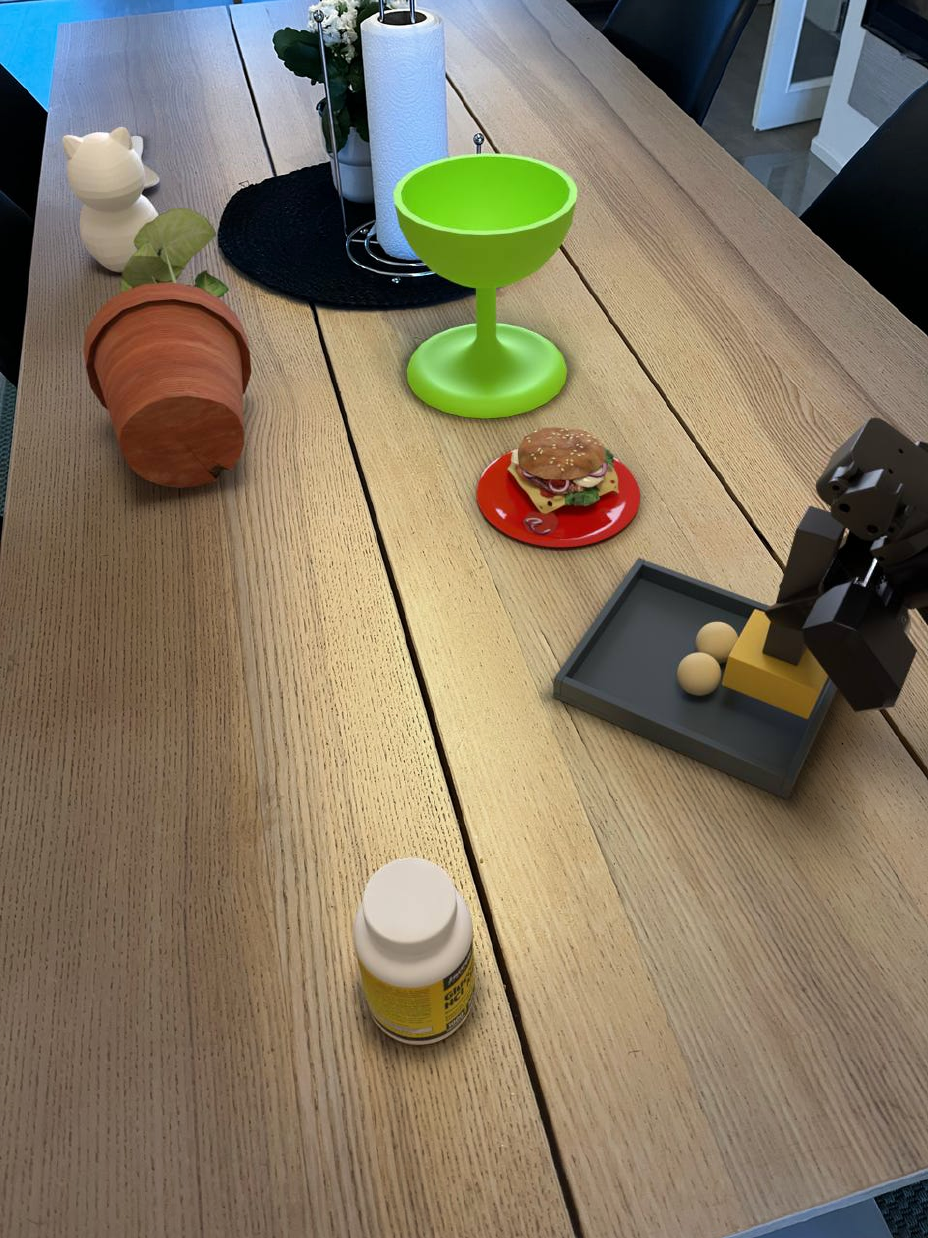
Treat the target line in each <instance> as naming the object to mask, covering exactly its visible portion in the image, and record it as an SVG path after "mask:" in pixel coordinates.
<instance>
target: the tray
mask: <svg viewBox="0 0 928 1238" xmlns="http://www.w3.org/2000/svg"><path fill="white" fill-rule="evenodd" d="M770 606H771V605H768V604H766V603H763V602H760V601H757V600H754V599H752V598H749V597H746V596H744V595H741V594H738V593H735V592H734V591H730V590H729V589H728V590H727V589H725V588H722V587H719V586H717V585H715V584H711V583H708V582H706V581H703V580H701V579H697V578H695V577H692V576H689V575H687V574H684V573H682V572H679V571H676V570H674V569H671V568H668V567H665V566H663V565H660V564H657V563H654V562H652V561H650V560H646V559H644V558H641V557H638V558H637V559H636V560H635V562H634V563H633V564H632V566H631V567H630V569H629V570H628V572H627V573H626V575H625V576H624V577H623V579H622V580H621V581H620V583H619V584H618V586H617V588H616V589H615V590H614V592H613V593H612V594H611V596H610V598H609V599H608V600H607V602H606V603H605V605H603V608H602V609H601V611H600V612H599V613H598V615H597V616H596V617H595V619H594V620H593V622H592V623H591V624H590V626H589V628H588V629H587V630H586V632H585V634H584V635H583V636H582V638H580V640H579V642H578V643H577V645H576V646H575V647H574V649H573V651H572V652H571V653H570V655H569V656H568V657H567V659H566V660H565V662H564V663H563V664H562V666H561V668H559V669H558V672H557V673H556V675H555V676H554V678H553V686H552V687H553V689H552V698H555V699H557V700H558V701H561V702H563V703H565V704H568V705H570V706H572V707H574V708H577V709H580V710H582V711H583V712H586V713H588V714H591V715H593V716H595V717H598V718H600V719H602V720H605V721H607V722H608V723H611V724H613V725H616V726H618V727H621V728H622V729H625V730H626V731H630V732H631V733H633V734H637V735H639V736H641V737H643V738H645V739H648V740H650V741H652V742H655V743H657V744H659V745H661V746H664V747H666V748H668V749H670V750H673V751H675V752H677V753H680V754H681V755H684V756H686V757H689V758H691V759H693V760H696V761H698V762H700V763H702V764H705V765H707V766H709V767H711V768H714V769H716V770H718V771H721V772H723V773H725V774H728V775H729V776H732V777H735V778H737V779H739V780H741V781H744V782H746V783H748V784H749V785H753V786H755V787H757V788H759V789H761V790H763V791H766V792H769V793H771V794H772V795H775V796H777V797H780V798H782V799H784V800H789V799H788V798H789V797H790V795H791V792H792V790H793V788H794V785H795V783H796V781H797V779H798V777H799V775H800V772H801V770H802V768H803V766H804V764H805V761H806V759H807V757H808V755H809V753H810V751H811V749H812V746H813V744H814V741H815V739H816V737H817V735H818V733H819V730H820V729H821V726H822V724H823V721H824V720H825V718H826V716H827V713H828V711H829V709H830V706H831V704H832V702H833V700H834V697H835V695H836V693H837V691H838V689H837V687H836V686H835V684H834V683H833V682H832V680H831V679H830V678H829V676H828V677H827V680H826V682H825V684H824V686H823V688H822V690H821V692H820V695H819V697H818V699H817V701H816V703H815V705H814V707H813V710H812V712H811V714H810V716H809V718H808V719H805V718H803V717H800V716H798V715H795V714H793V713H791V712H788V711H786V710H783V709H781V708H778V707H776V706H773V705H771V704H768V703H766V702H763V701H761V700H758V699H756V698H753V697H751V696H748V695H746V694H743V693H741V692H738V691H736V690H733V689H731V688H728V687H726V686H723V685H722V681H723V677H724V673H725V669H726V665H727V662H724V663H720V664H719V666H720V669H721V680H720V683H719V685H718V686H717V688H716V689H715V690H714V691H712V692H711V693H709V694H706V695H701V696H698V695H693V694H690V693H688V692H687V691H685V690H684V689H683V688H682V687H681V685H680V683H679V681H678V678H677V670H678V667H679V664H680V663H681V661H682V660H683V659H684V658H685V657H686V656H688V655H690V654H693V653H698V651H697V648H696V638H697V635H698V633H699V631H700V630H701V628H702V627H704V626H705V625H707V624H709V623H712V622H723V623H726V624H728V625H729V626H731V627H732V628H733V629H734V630H735V632H736V633H737V635H738V638H739V637H740V635H741V633H742V631H743V629H744V628H745V626H746V624H747V622H748V621H749V619H750V617H751V615H752V613H753V612H754V610H755V609H756V610H759V611H761V612H764V613H765V611H766V609H767V608H768V607H770Z"/></svg>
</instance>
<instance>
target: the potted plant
mask: <svg viewBox="0 0 928 1238" xmlns="http://www.w3.org/2000/svg"><path fill="white" fill-rule="evenodd" d="M215 237H216V231H215V228H214V226H213V225H212V224H211V223H210V221H209V219H208V218H207V217H206V216H204V215H202V214H201V213H199V212H198V211H196V210H193V209H190V208H187V207H179V208H170V209H169V210H167V211H166V212H164V213H161V214H158V216H157V217H156V218H155V219H154V220H153V221H151V222H148V223H146V224H145V225H144V226H143V227H142V228H141V229H140V230H139V232H138V234H137V235H136V238H134V245H135V247H136V248H137V251H136V252H135V253H134V254H133V255H132V257H131V258H130V259H129V261H128V262H127V264H126V266H125V268H124V270H123V272H121V276H122V277H121V278H122V279H120V284H119V293H117V294H116V295H115V296H113V298H111V299H110V300H108V302H106V303H104V304H103V305H102V306H101V307H99V309H98V310H97V312H96V313H95V315H94V316H93V318H92V320H91V321H90V323H89V324H88V326H87V328H86V333H85V338H84V343H83V355H84V362H85V369H86V373H87V377H88V378H87V379H88V382H89V387H90V389H91V391H92V392H93V394H94V395H95V397H96V399H98V401H99V403H100V404H101V406H102V407H103V408H105V410H107V411H108V414H109V419H110V420H111V424H112V427H113V430H114V433H115V437H116V439H117V443H118V446H119V448H120V452H121V455H122V457H123V459H124V460H125V462H126V463H127V465H128V466H129V467H130V468H131V470H132V471H133V472H134V473H136V474H138V475H139V476H140V477H141V478H143V479H144V480H146V481H149V482H151V483H154V484H157V485H160V486H162V487H169V488H171V487H172V488H181V489H183V488H190V487H191V488H192V487H199V486H202V485H206V484H210V483H213V482H216V481H218V479H219V477H220V475H221V473H222V472H223V471H229V472H231V471H232V470H233V468H234V467H235V466H236V464H237V463H238V461H239V460H240V459H241V456H242V452H243V449H244V446H245V421H244V420H245V419H244V418H245V417H244V395H245V393H246V391H247V388H248V385H249V382H250V378H251V375H252V364H251V351H250V346H249V342H248V341H249V340H248V336H247V333H246V331H245V328H244V327H243V325H242V323H241V321H240V319H239V316H238V315H237V314H236V313H235V311H234V310H232V308H230V307H229V306H228V305H227V304H226V303H225V302H224V300H222V299H221V298H222V297H224V296H225V294H226V293H229V292H230V289H229V287H228V285H226V284H225V283H224V282H223V281H221V280H220V279H218V278H217V277H215V276H213V275H211V274H210V273H209V272H208V269H205V270H203V271H201V272H200V273H198V274H197V276H196V277H195V279H194V285H190V284H182V283H177V280H178V279H179V277H180V276H181V274H182V273H183V271H184V270H185V269H186V268H187V265H188V263H189V262H190V260H191V259H192V258H193V257H194V256H196V255H198V253H200V252H201V251H202V250H203V249H204V248H205V247H206V246H207V245H208V244H210V242H212V241H213V240H214V239H215Z"/></svg>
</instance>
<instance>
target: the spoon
mask: <svg viewBox="0 0 928 1238" xmlns="http://www.w3.org/2000/svg"><path fill="white" fill-rule="evenodd" d="M130 137H131V140H132V144H133V147H132V148H133V149H134V150H135V152H136V153H137V155H138V156H139V158H140V160H141V163H142V165H143V168H144V173H145V185H144V190H147V189H150V188H152V187H154V186H155V185H156V186H157V184H159V182H160V177H159V175H158V174H157V173H156V172H154V170H152V169H151V168H149V167H148V166H146V165H145V164H144V162H143V160H142V155H143V151H144V139H143V137H141V136H140V135H132V136H130Z"/></svg>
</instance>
